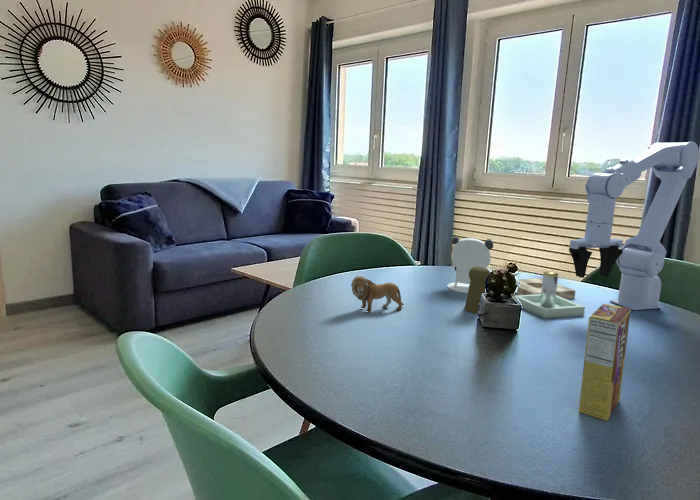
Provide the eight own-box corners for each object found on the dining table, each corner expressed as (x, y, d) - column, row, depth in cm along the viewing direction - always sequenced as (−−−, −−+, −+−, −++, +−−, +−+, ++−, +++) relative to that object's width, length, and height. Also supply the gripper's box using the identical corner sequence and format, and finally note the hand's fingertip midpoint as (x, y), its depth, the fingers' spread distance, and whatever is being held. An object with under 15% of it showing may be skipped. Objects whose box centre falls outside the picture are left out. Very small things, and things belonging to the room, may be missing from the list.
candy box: (590, 391, 77) (603, 302, 74) (620, 400, 74) (634, 308, 72) (575, 411, 70) (588, 315, 68) (607, 422, 68) (622, 322, 65)
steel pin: (548, 304, 122) (552, 270, 121) (557, 308, 119) (561, 274, 117) (537, 304, 122) (540, 271, 120) (545, 309, 118) (549, 274, 116)
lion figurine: (355, 316, 110) (357, 279, 108) (346, 309, 115) (347, 274, 113) (408, 309, 116) (410, 274, 115) (397, 303, 121) (399, 269, 119)
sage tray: (550, 301, 128) (551, 293, 127) (583, 315, 116) (584, 306, 116) (513, 303, 124) (513, 295, 124) (543, 318, 113) (544, 309, 113)
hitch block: (540, 285, 144) (541, 278, 144) (574, 298, 131) (575, 290, 131) (502, 287, 140) (502, 280, 140) (532, 301, 127) (533, 293, 127)
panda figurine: (488, 285, 142) (493, 237, 139) (489, 295, 131) (494, 243, 128) (448, 281, 145) (452, 234, 142) (445, 291, 134) (449, 239, 131)
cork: (489, 315, 114) (493, 271, 112) (464, 312, 115) (468, 269, 113) (487, 307, 120) (491, 266, 118) (463, 305, 121) (467, 264, 119)
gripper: (609, 220, 121) (602, 271, 123) (563, 220, 116) (557, 273, 119) (633, 223, 114) (625, 277, 117) (585, 224, 110) (577, 280, 112)
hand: (592, 276), depth 117 cm, fingers open, 7 cm apart
